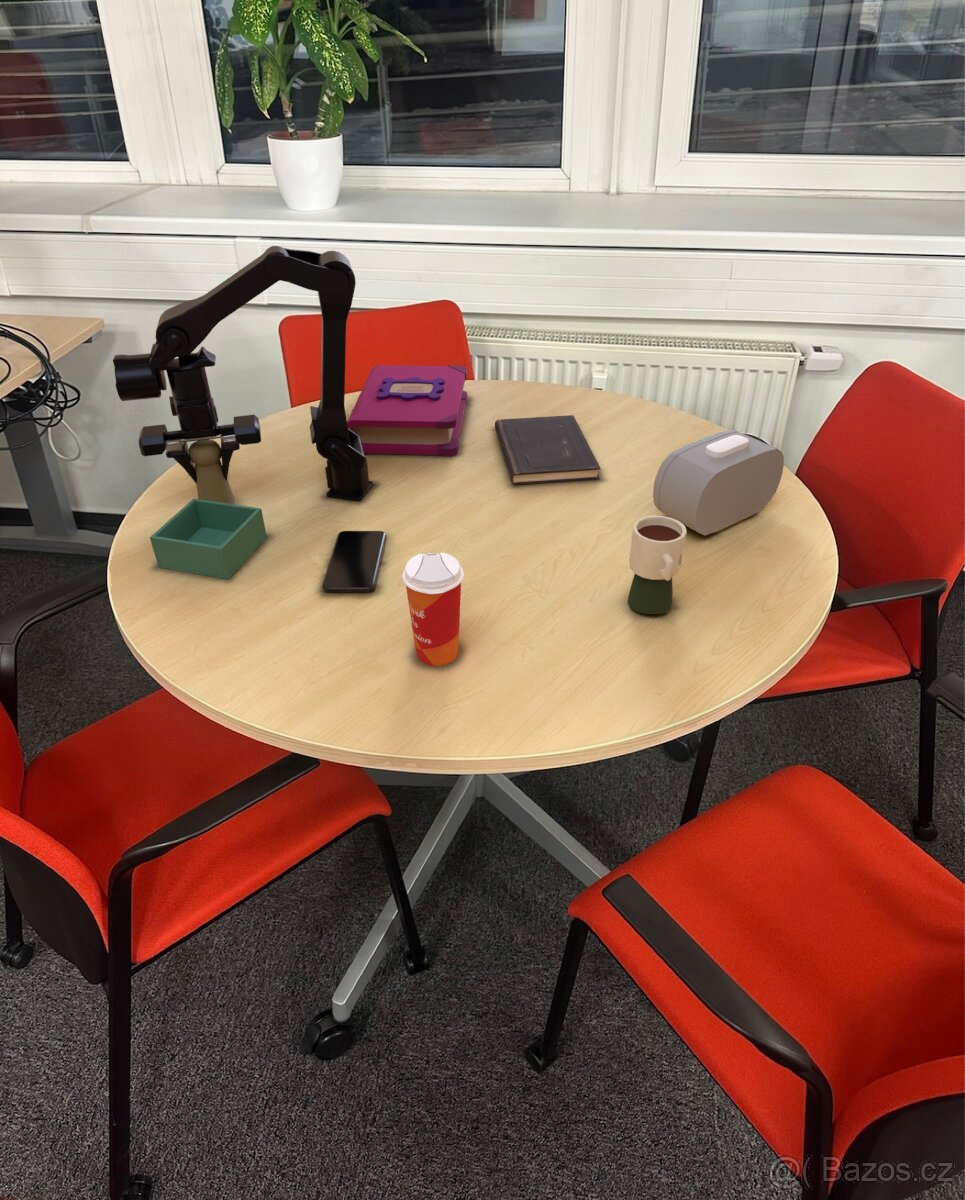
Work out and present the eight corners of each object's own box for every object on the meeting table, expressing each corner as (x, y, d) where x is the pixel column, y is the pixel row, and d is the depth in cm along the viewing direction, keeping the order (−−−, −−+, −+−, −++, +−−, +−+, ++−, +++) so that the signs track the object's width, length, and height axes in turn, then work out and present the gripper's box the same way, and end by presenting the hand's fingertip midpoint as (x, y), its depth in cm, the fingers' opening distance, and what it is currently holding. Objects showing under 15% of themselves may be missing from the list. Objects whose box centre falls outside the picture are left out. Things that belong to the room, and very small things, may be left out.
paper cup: (408, 636, 114) (401, 551, 105) (464, 632, 114) (461, 547, 106) (409, 674, 107) (401, 586, 99) (468, 670, 108) (465, 583, 99)
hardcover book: (573, 425, 167) (573, 414, 166) (599, 479, 149) (600, 467, 148) (494, 430, 166) (494, 419, 164) (511, 485, 147) (511, 473, 146)
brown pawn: (224, 512, 139) (211, 452, 133) (191, 508, 140) (176, 449, 134) (240, 494, 144) (228, 436, 137) (208, 491, 145) (194, 433, 138)
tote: (267, 537, 134) (261, 508, 131) (228, 579, 125) (221, 548, 122) (200, 527, 137) (193, 498, 134) (158, 567, 128) (149, 537, 124)
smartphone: (374, 593, 122) (387, 534, 134) (373, 588, 121) (386, 530, 134) (321, 593, 122) (338, 534, 135) (320, 588, 121) (338, 529, 134)
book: (347, 454, 158) (342, 416, 153) (372, 395, 180) (369, 361, 176) (456, 456, 157) (455, 418, 152) (468, 397, 179) (467, 363, 175)
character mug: (686, 626, 115) (699, 547, 107) (636, 631, 114) (646, 552, 106) (660, 581, 123) (672, 506, 116) (614, 586, 123) (622, 510, 115)
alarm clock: (730, 486, 146) (744, 415, 138) (774, 508, 140) (791, 435, 132) (647, 522, 137) (656, 448, 129) (690, 547, 131) (703, 471, 123)
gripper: (250, 369, 138) (266, 453, 148) (133, 380, 135) (157, 466, 144) (252, 394, 130) (268, 482, 139) (127, 407, 126) (153, 497, 136)
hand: (211, 481), depth 140 cm, fingers closed on brown pawn, 4 cm apart
